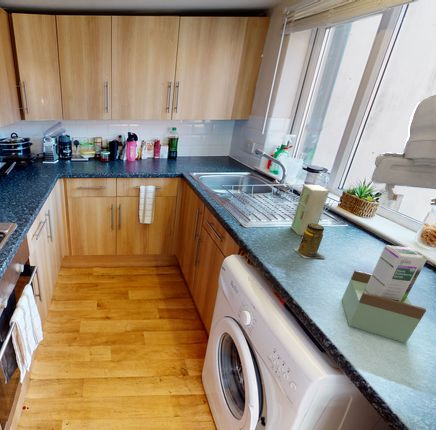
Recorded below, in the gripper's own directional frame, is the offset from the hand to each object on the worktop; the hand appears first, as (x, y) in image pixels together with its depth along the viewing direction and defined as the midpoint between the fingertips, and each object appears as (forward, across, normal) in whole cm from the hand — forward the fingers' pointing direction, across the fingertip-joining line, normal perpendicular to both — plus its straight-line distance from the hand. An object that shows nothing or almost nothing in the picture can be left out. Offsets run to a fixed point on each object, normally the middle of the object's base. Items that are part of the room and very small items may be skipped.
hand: (413, 202), depth 82 cm
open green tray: (+34, -6, -8) cm, 36 cm away
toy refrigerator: (+15, -19, +41) cm, 48 cm away
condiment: (+22, -18, +22) cm, 36 cm away
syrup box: (+27, -6, -11) cm, 30 cm away
